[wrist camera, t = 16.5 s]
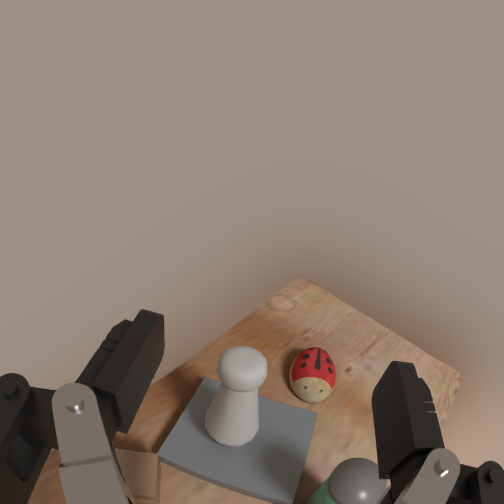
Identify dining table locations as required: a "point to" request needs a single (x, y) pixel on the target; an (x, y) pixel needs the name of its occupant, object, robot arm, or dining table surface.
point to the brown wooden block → (141, 475)
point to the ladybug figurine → (312, 375)
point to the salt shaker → (236, 397)
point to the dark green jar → (351, 484)
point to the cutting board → (243, 448)
